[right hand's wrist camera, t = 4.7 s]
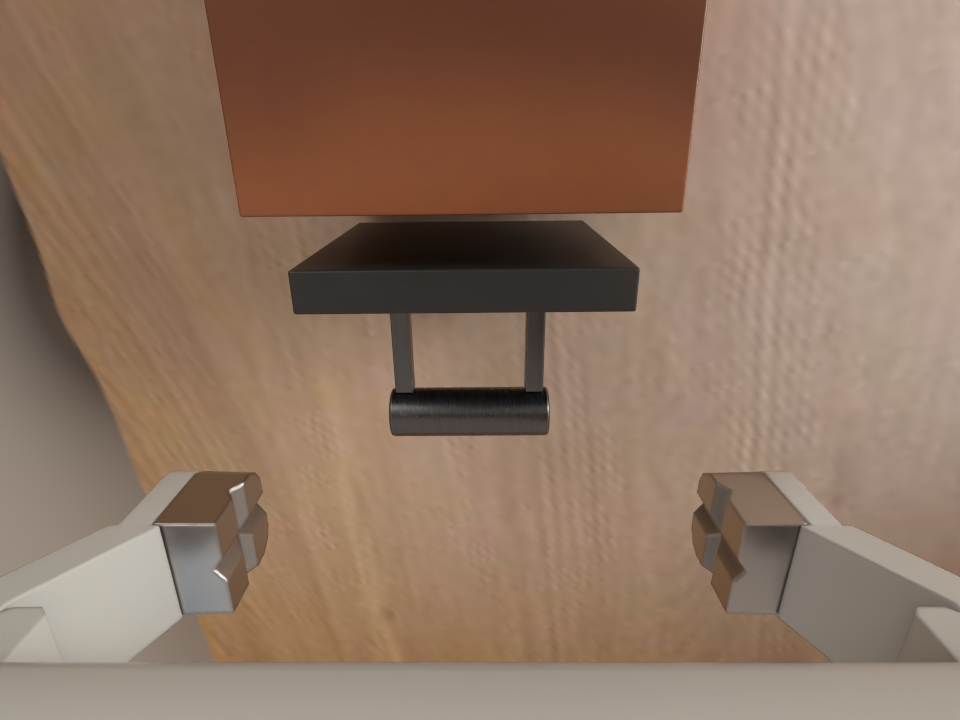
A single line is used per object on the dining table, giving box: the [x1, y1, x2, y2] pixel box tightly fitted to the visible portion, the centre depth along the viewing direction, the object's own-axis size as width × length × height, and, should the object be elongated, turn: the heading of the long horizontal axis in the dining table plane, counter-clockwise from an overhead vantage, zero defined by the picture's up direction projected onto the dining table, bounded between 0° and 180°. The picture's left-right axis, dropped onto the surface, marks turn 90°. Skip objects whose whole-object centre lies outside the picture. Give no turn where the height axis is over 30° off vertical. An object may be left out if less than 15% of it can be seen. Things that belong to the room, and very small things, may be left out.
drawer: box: [288, 221, 640, 436], centre depth 17 cm, size 23×9×9 cm, turn 1°
